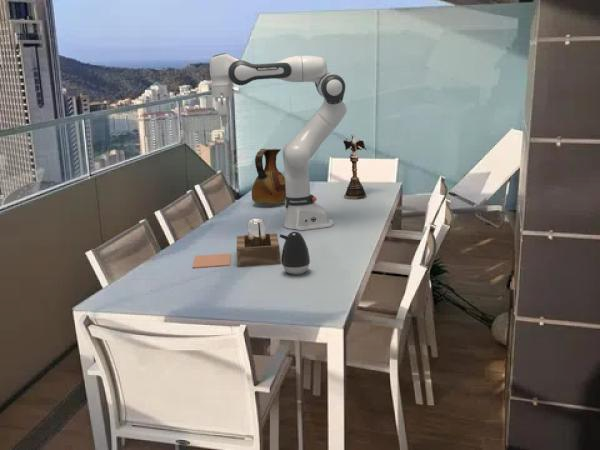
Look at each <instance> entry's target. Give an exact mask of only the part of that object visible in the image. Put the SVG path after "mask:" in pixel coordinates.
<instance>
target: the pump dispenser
mask: <svg viewBox="0 0 600 450" xmlns="http://www.w3.org/2000/svg"><path fill="white" fill-rule="evenodd" d="M279 238H281V239H284V240H285V241H284V244H283V247H282V251H281V265H282V267H283V269H284V271H285V272H286V273H287V274H290V275H294V276H296V275H302V274H304V273H305V272H306V271H307V270H308V269H309V265H310V264H311V258H310V257H311V256H310V252H309V248H308V245H307V242H306V240H305V238H304V237H303V235H302V234H301V232H298V231H295V230H294V231H290V233H288V234H287V235H285V234H283V233H282V234H279Z"/></svg>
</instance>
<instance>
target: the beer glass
mask: <svg viewBox="0 0 600 450" xmlns="http://www.w3.org/2000/svg"><path fill="white" fill-rule="evenodd" d="M266 229H267V228H266V221H265V219H264V218H251V219H248V220H247V235H248V237H249V242H250V245H251V247H260V246H265V239H266V234H267V231H266Z"/></svg>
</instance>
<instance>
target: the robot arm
mask: <svg viewBox="0 0 600 450" xmlns="http://www.w3.org/2000/svg"><path fill="white" fill-rule="evenodd" d="M326 61H327V60H325V59H324V58H323V57H321V56H317V55H316V56H315V55H295V56H290V57H285V58H283V59H281V60H279V61H276V62H270V63H268V62H267V63H251V62H248V61H246V60H242V59H237V58H236V57H233V56H231V55H229V54H228V53H225V52H224V53H219V54H215V55H213V56H212V57H211V58H210V60H209V75H210V79H211V83H210V87H211V89H210V90H211V98H214V101H215V102H217V112H218V117H220V121H221V127H227V124H228V114H229V108H230V106H229V104H230V103H229V102H230V100H231V99H230V97H233V86H232V84H234V85H237V86H246V85H248V84H249V83H251V82H253V81H256V80H270V79H271V80H273V79H274V80H282V81H284V82H291V83H306V82H307V83H308V82H309V83H314V84H315V87H316V90H317V92H318V94H319V96H321V97H322V98H323V103H322V105H321V106H320V108H318V110H316V112H314V114H313V115H311V117H310V119H309V120H307V122H306V123H305V124H304V126H302V128H301V130H300V131H299V132H298V134H297V135H295V137H294V138H292V139H290V140H287V142H285V143H284V144H283V147H282V159H283V173H284V177H285V188H286V196H285V202H284V206H285V217H284V218H285V221H284V224H283V226H284V228H286V229H292V230H297V231H307V230H308V231H309V230H315V229H323V228H331V227H332V226H333V225H334V222H333V220H332V219H331V218H329V216H328V212H327V211H326V209H325V208H324V207H322V206H320V205H319V204H317V203H316V201H317V197H316V196H315V195H313V194H311V188H310V187H311V186H310V174H309V173H310V170H309V163H308V162H309V161H310V160H311V158H312V157H313V156H314V155H315V153H316V152H317V150H319V148H320V146H321V145H322V144H323V142H324V141H326V139H327V138H328V137H329V136H330V135H331V133H332V132H333V131H334V130H335V129H336V128H337V127H338V125H339V124H340V123H341V121H342V120H343V119H344V117H345V115H346V114H347V106H346V104H345V103H344V102H343V100H344V96H345V93H346V82H345V80H344V79H343V77H341V76H340V75H338V74H336V73H331V72H329V70H328V65H327V62H326Z"/></svg>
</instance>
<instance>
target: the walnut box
mask: <svg viewBox="0 0 600 450" xmlns="http://www.w3.org/2000/svg"><path fill="white" fill-rule="evenodd" d="M280 253H281V251H280V243H279V236H278V233H277V232H271V233H270V232H269V233H266V239H265V246H260V247H251V245H250V242H249V237H248V234H244V235H243V234H242V235H236V258H237V259H236V260H237V268H239V267H253V266H255V267H256V266H268V265H281V254H280Z"/></svg>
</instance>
